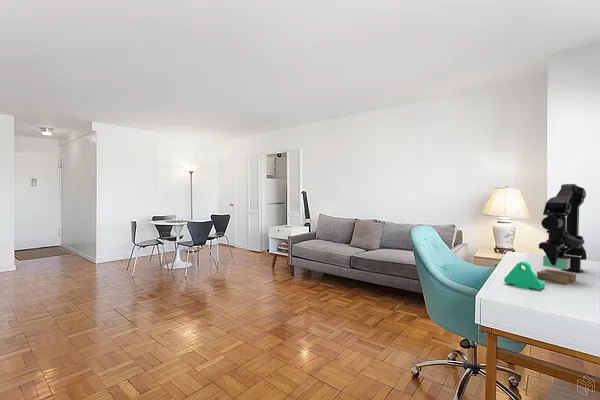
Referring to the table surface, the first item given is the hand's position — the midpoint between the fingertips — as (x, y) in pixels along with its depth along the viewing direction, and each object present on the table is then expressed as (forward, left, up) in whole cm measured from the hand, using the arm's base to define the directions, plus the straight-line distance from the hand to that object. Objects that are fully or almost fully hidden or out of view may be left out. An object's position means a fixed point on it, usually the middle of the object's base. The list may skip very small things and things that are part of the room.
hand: (556, 264), depth 130 cm
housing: (0, 0, -1) cm, 1 cm away
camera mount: (+21, -3, -7) cm, 23 cm away
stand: (0, 0, -7) cm, 7 cm away
